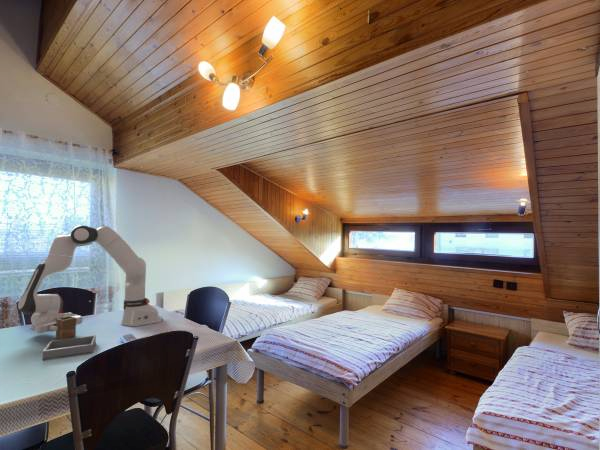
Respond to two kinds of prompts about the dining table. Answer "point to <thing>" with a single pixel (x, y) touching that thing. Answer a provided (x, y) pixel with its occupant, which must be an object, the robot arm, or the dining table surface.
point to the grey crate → (69, 347)
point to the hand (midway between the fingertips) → (66, 326)
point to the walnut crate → (66, 327)
